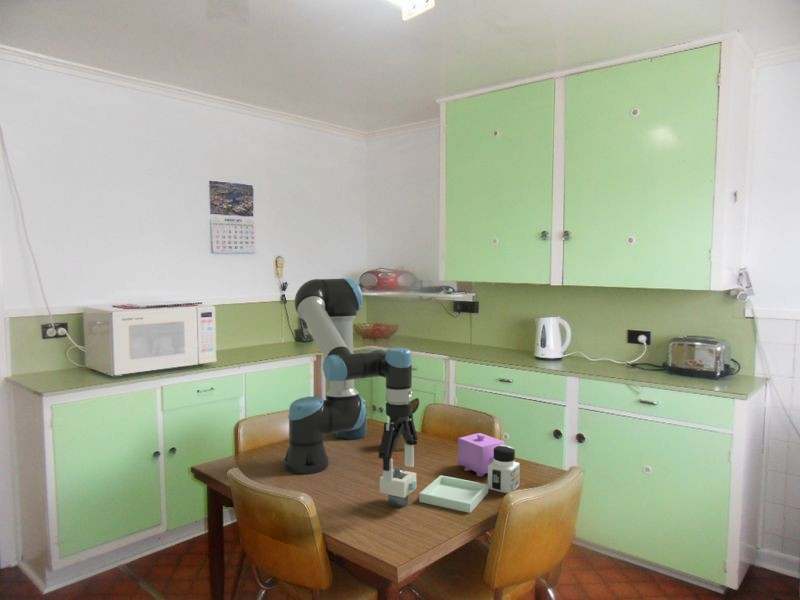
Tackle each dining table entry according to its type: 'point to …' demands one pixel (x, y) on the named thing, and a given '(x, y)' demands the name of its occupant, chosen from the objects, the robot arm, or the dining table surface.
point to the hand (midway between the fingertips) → (398, 473)
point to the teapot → (477, 452)
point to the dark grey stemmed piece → (395, 500)
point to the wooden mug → (401, 441)
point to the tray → (454, 493)
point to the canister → (355, 431)
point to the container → (503, 470)
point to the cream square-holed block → (399, 484)
